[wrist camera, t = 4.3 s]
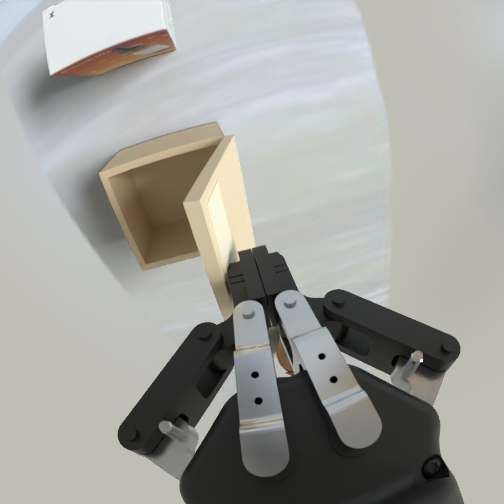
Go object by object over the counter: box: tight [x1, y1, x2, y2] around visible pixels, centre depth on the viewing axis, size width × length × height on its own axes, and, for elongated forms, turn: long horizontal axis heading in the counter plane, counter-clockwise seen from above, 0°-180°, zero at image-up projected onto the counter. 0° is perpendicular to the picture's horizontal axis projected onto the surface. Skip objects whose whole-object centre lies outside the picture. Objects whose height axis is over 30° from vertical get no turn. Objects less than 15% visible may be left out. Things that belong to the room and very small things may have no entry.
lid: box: [183, 135, 255, 321], centre depth 17 cm, size 10×10×1 cm
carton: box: [99, 122, 224, 271], centre depth 24 cm, size 10×10×7 cm
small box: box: [42, 0, 177, 76], centre depth 13 cm, size 8×6×10 cm
